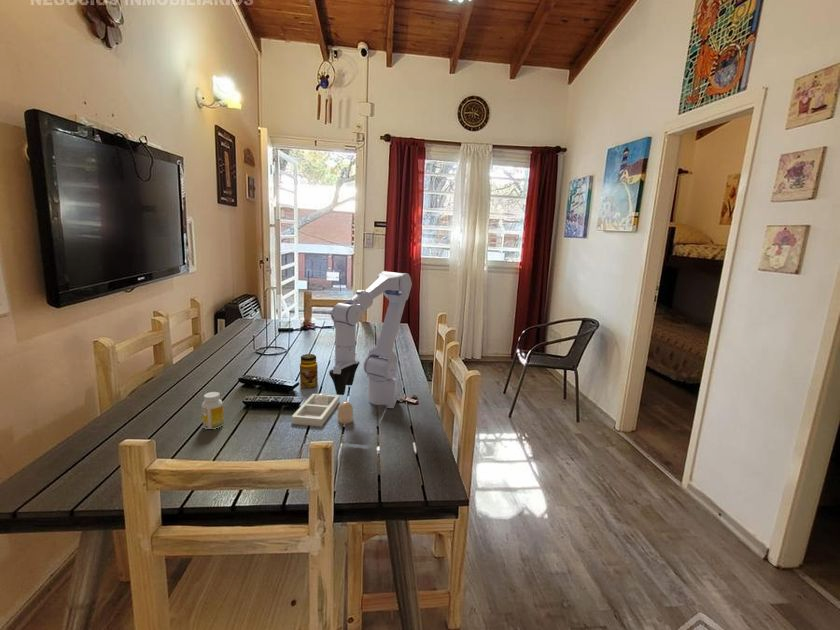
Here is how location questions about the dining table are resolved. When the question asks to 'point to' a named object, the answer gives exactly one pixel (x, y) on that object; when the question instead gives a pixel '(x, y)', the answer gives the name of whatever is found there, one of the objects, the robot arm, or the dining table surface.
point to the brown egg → (345, 413)
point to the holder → (315, 411)
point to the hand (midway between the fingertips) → (344, 389)
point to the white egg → (321, 399)
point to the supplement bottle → (212, 411)
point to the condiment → (308, 371)
